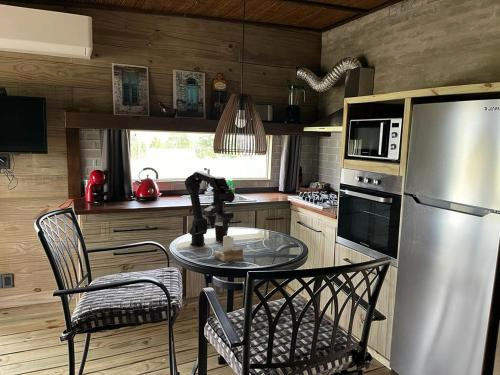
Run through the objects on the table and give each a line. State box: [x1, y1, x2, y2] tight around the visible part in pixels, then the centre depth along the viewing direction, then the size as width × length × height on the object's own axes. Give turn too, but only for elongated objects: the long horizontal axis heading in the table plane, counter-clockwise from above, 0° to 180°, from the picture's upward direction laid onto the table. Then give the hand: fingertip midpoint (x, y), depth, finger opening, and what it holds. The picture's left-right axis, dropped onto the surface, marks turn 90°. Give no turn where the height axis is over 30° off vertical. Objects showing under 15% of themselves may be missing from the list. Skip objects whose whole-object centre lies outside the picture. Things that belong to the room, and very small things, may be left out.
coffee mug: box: [214, 222, 230, 243], centre depth 233 cm, size 12×9×10 cm
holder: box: [213, 248, 244, 263], centre depth 202 cm, size 10×11×5 cm
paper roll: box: [222, 235, 235, 254], centre depth 201 cm, size 5×5×11 cm
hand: (218, 229), depth 207 cm, fingers open, 9 cm apart
